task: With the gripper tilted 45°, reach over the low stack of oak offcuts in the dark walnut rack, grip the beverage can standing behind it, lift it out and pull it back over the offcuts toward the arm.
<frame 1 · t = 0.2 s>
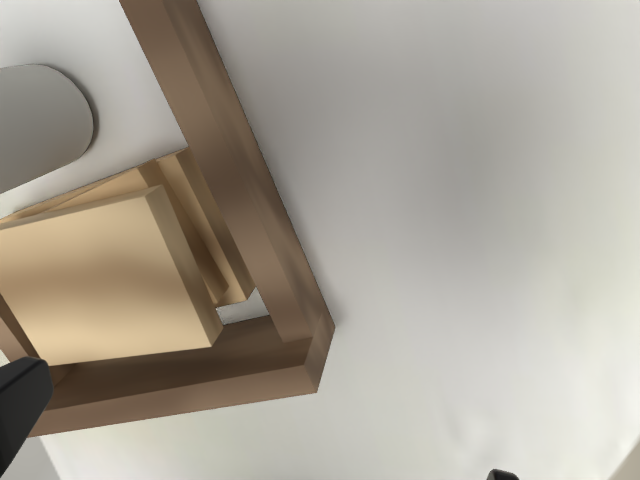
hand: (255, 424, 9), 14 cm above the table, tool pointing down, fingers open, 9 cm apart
offcut rack: (123, 231, 26), on the table
offcut stack: (132, 248, 26), on the table
beverage can: (58, 113, 24), on the table
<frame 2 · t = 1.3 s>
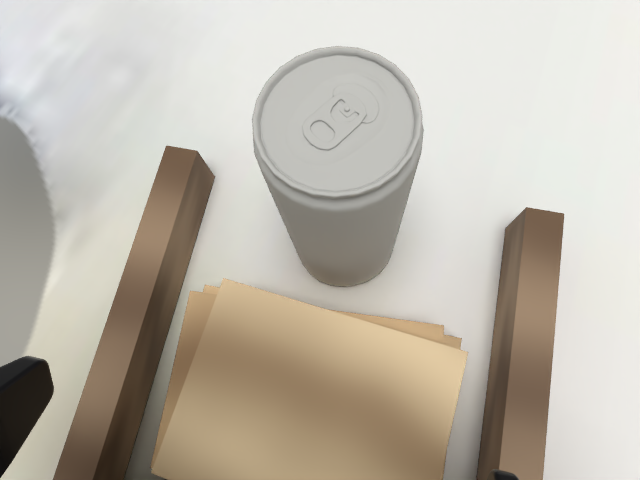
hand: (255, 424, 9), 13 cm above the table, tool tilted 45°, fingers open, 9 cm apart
offcut rack: (317, 377, 22), on the table
offcut stack: (312, 399, 22), on the table
beverage can: (344, 244, 24), on the table
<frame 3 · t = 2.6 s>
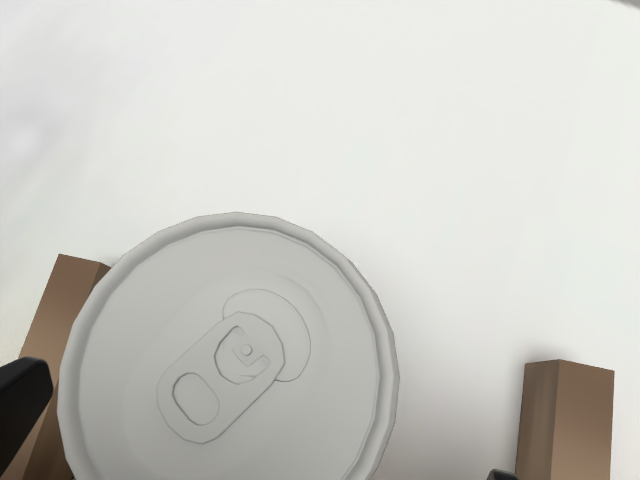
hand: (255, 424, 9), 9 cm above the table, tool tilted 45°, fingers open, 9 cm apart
beverage can: (307, 380, 18), on the table
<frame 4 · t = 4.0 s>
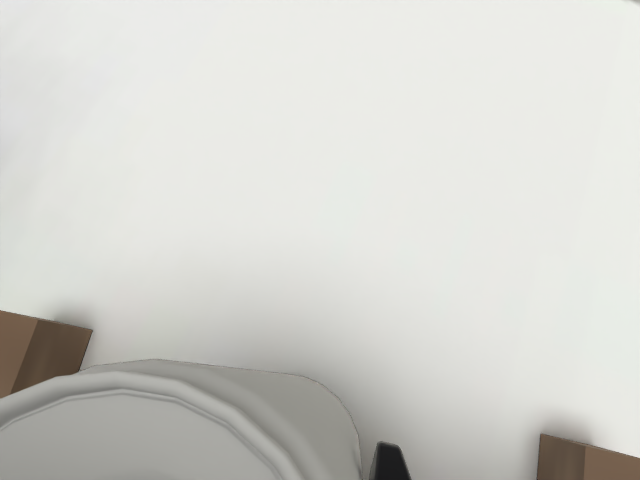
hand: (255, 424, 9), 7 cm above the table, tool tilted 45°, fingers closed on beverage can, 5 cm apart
beverage can: (286, 451, 15), on the table, touching gripper
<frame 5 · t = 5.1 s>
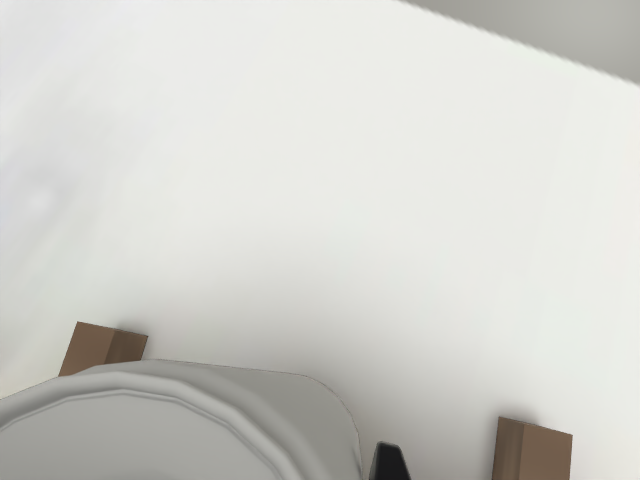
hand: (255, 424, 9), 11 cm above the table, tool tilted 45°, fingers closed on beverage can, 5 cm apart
beverage can: (286, 450, 15), point 4 cm above the table, touching gripper
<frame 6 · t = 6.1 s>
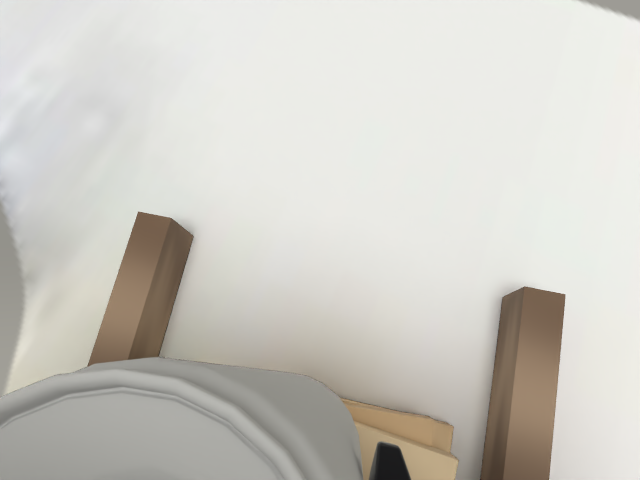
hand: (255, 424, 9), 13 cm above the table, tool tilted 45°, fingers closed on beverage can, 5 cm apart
offcut rack: (300, 460, 21), on the table
beverage can: (286, 449, 15), point 6 cm above the table, touching gripper
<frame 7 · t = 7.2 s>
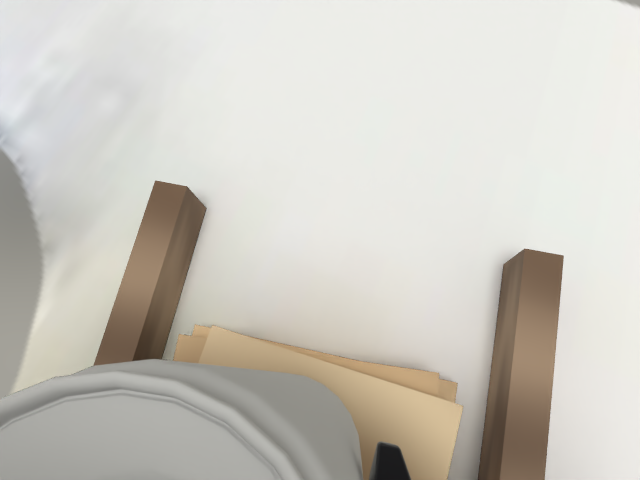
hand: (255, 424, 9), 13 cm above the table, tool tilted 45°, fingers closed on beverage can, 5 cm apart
offcut rack: (310, 418, 22), on the table
offcut stack: (305, 442, 21), on the table
beverage can: (286, 450, 15), point 7 cm above the table, touching gripper
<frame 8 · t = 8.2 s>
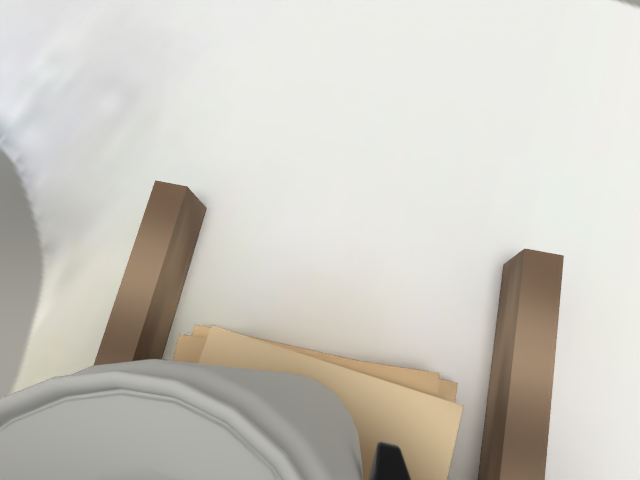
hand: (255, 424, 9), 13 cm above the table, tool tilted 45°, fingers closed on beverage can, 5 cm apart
offcut rack: (310, 418, 22), on the table
offcut stack: (305, 442, 21), on the table
beverage can: (286, 450, 15), point 7 cm above the table, touching gripper
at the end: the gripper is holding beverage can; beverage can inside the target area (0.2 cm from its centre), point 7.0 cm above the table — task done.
